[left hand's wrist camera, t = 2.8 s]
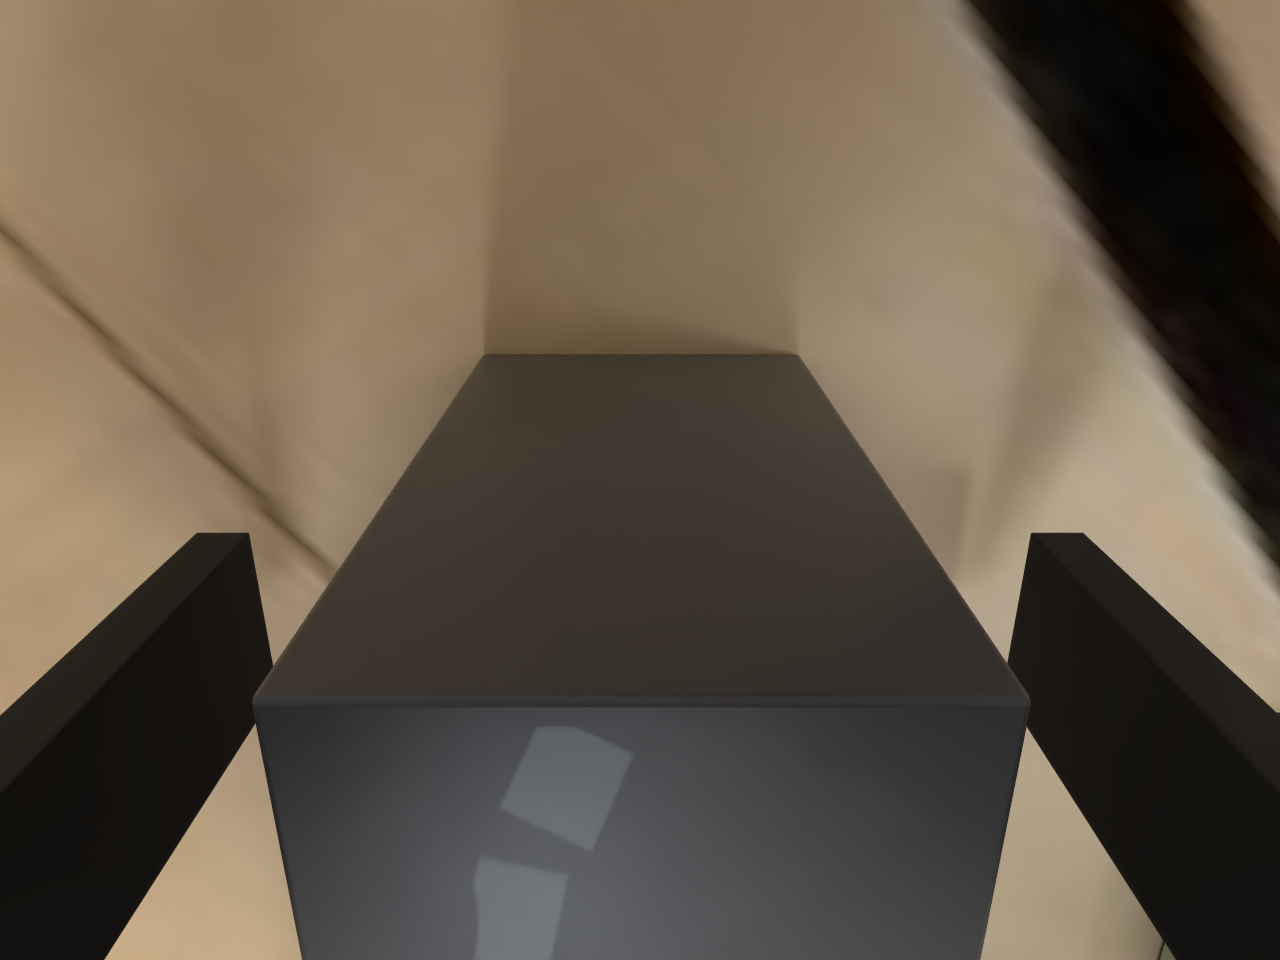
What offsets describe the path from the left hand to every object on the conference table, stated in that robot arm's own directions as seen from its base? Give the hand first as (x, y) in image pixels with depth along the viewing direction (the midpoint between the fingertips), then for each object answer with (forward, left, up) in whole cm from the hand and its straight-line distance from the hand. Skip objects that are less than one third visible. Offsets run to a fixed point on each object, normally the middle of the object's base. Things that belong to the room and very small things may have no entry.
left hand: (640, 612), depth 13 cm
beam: (0, +9, -2) cm, 9 cm away
